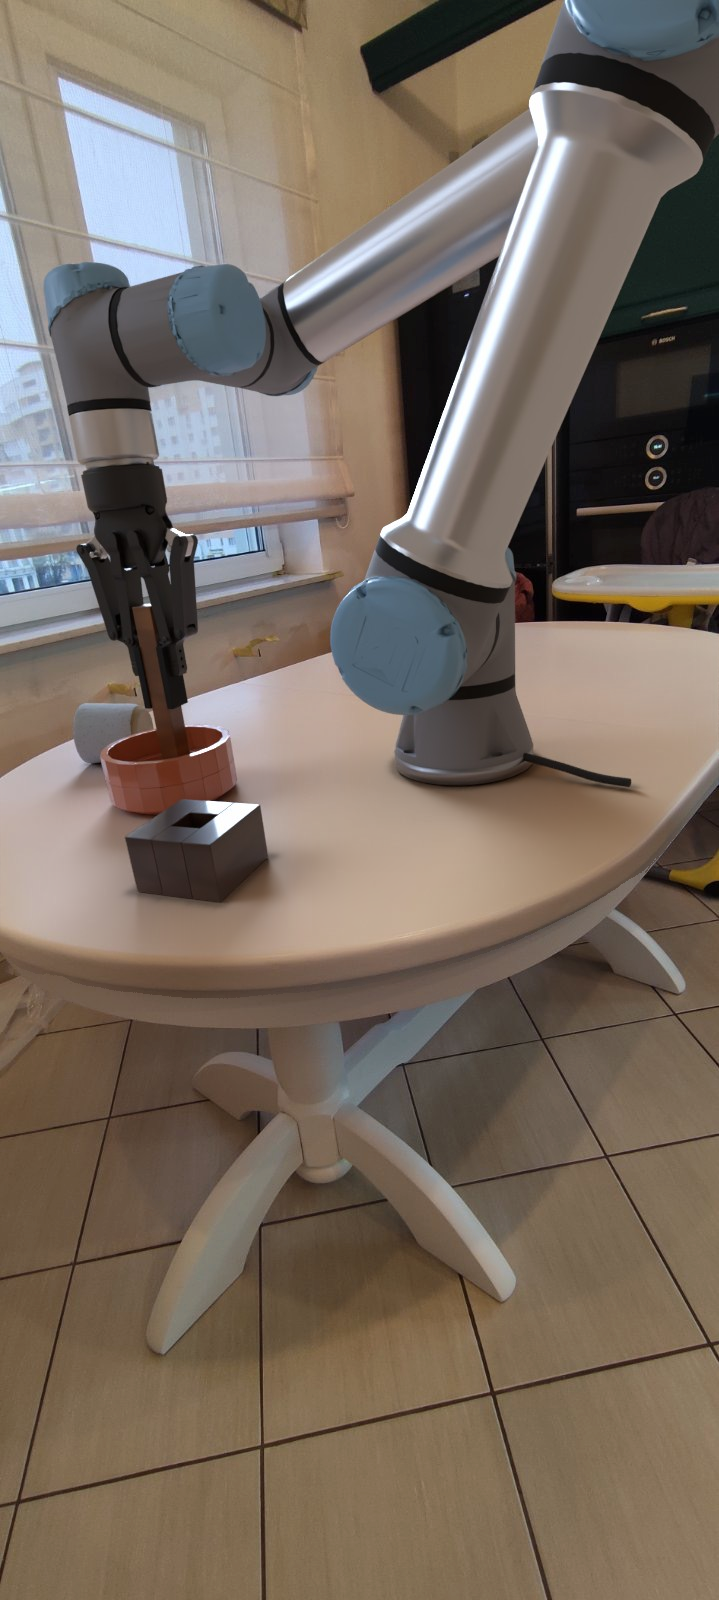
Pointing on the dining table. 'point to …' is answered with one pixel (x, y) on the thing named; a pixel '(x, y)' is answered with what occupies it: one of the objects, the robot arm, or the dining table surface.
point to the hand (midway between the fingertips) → (166, 705)
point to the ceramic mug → (106, 726)
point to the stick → (159, 688)
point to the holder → (198, 849)
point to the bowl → (168, 770)
